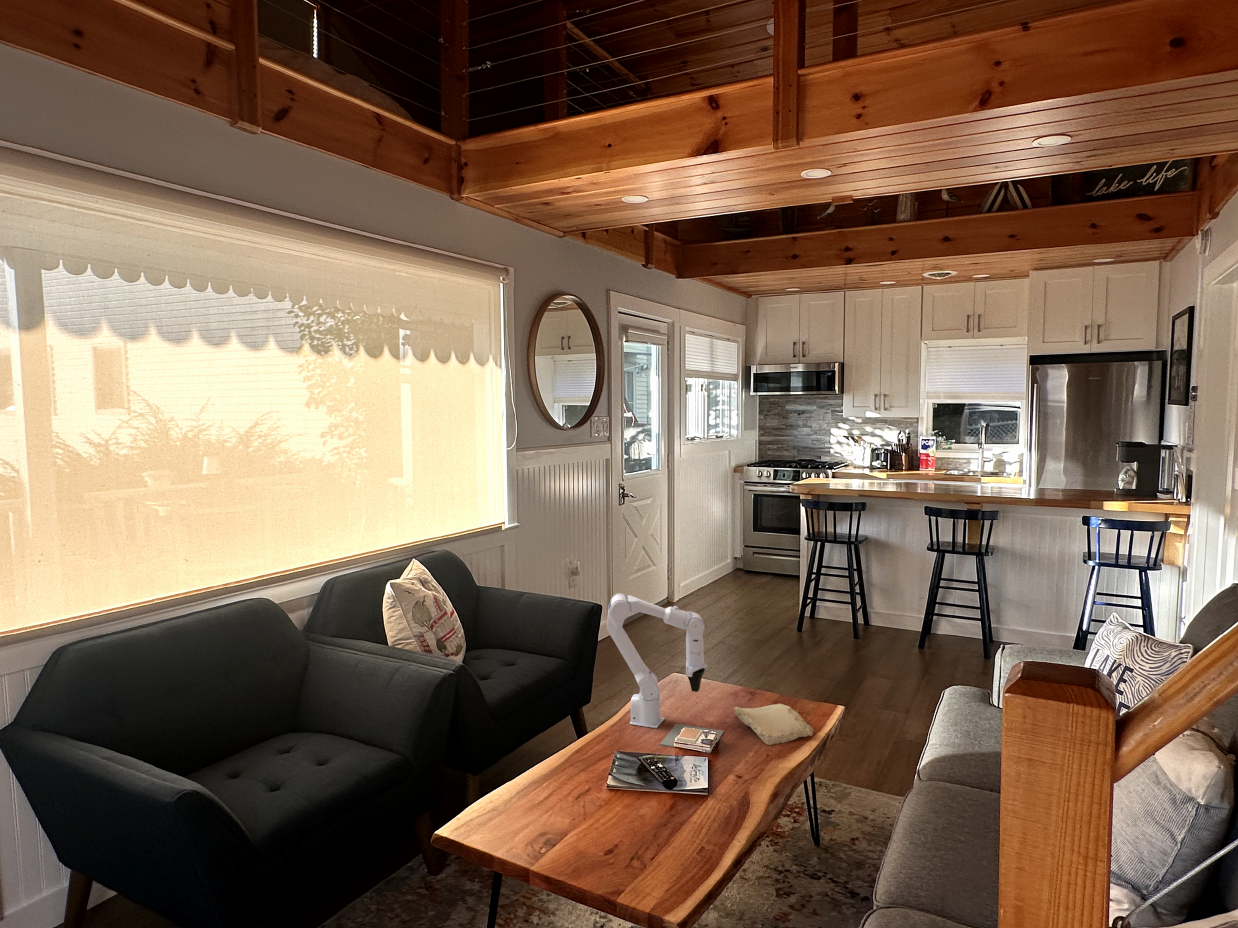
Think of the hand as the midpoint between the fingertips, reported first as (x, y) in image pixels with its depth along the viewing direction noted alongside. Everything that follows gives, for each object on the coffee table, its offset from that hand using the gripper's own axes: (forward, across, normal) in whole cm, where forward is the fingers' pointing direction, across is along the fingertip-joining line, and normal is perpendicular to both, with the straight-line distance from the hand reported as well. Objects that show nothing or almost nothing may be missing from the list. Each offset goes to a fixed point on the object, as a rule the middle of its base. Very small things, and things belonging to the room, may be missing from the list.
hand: (695, 690), depth 259 cm
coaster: (+9, -11, -3) cm, 15 cm away
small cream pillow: (+11, +4, -24) cm, 26 cm away
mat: (+10, -13, -3) cm, 17 cm away
